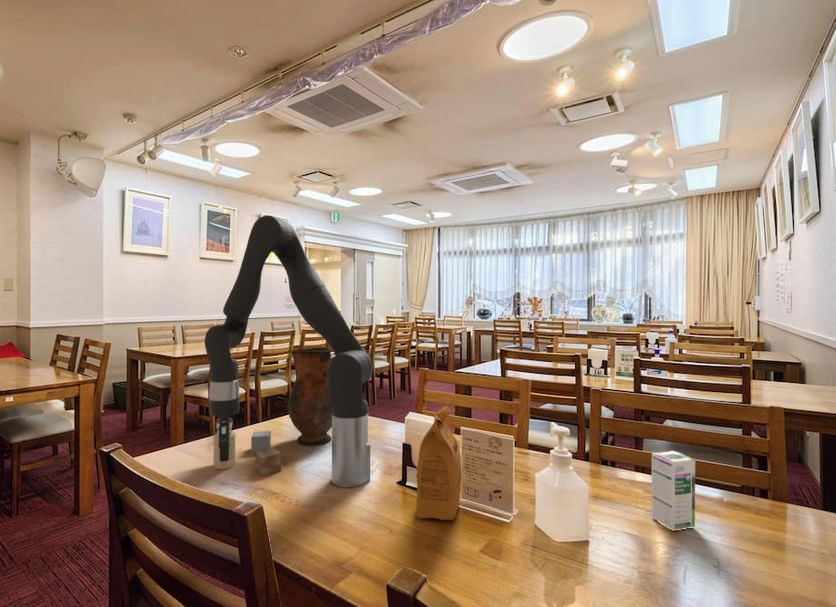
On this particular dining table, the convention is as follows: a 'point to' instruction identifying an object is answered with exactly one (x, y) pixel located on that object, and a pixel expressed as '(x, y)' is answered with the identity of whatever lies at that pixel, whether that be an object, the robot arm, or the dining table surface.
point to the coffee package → (438, 471)
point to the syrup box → (673, 489)
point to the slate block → (260, 441)
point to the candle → (231, 461)
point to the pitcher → (311, 396)
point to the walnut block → (268, 461)
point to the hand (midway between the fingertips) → (224, 456)
